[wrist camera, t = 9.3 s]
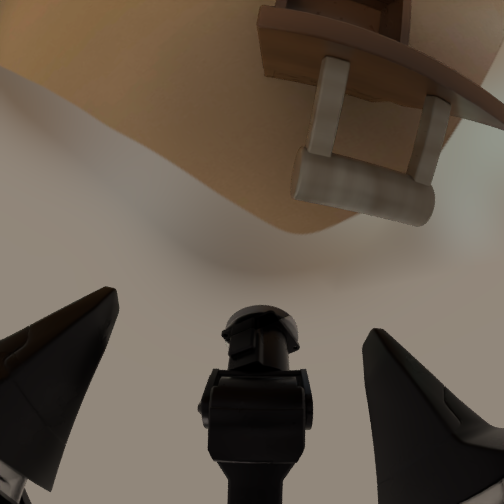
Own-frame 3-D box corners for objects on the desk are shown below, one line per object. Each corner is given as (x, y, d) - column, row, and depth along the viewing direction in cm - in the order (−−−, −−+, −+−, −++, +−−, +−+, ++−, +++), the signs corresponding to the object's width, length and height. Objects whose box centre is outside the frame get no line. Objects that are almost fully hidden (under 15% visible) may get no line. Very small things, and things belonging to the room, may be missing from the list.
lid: (260, 3, 4) (226, 214, 7) (523, 119, 4) (474, 262, 7) (264, 58, 12) (249, 147, 14) (404, 96, 12) (384, 177, 15)
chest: (281, -18, 12) (285, -47, 8) (385, 10, 13) (411, -8, 9) (264, 76, 16) (264, 64, 12) (372, 102, 16) (400, 101, 12)
